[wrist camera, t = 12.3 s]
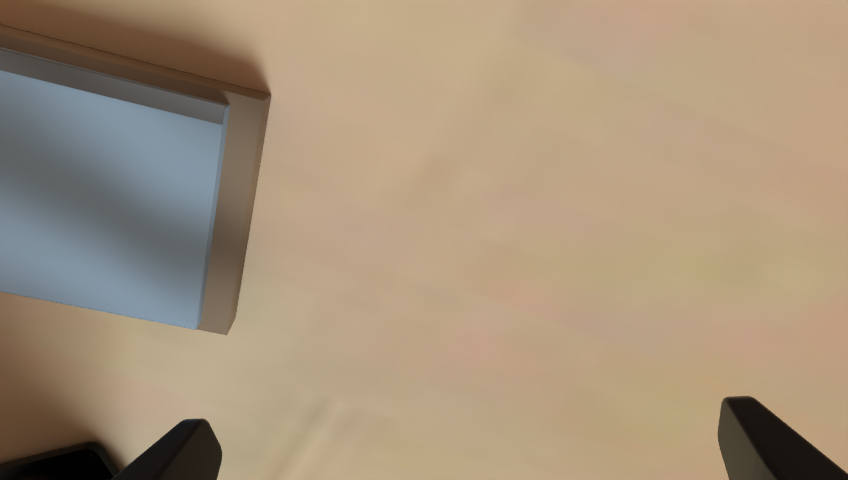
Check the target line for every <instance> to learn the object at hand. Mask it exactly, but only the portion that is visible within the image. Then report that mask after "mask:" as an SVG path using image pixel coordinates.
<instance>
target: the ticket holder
mask: <svg viewBox="0 0 848 480" xmlns="http://www.w3.org/2000/svg"><path fill="white" fill-rule="evenodd" d="M270 100H271V94H267V93H263V92H259V91H255V90H251V89H247V88H244V87H240V86H236V85H232V84H228V83H224V82H220V81H216V80H213V79H209V78H205V77H201V76H197V75H193V74H189V73H185V72H181V71H178V70H174V69H170V68H166V67H162V66H158V65H154V64H150V63H147V62H143V61H139V60H135V59H131V58H127V57H123V56H119V55H116V54H112V53H108V52H104V51H100V50H96V49H92V48H88V47H85V46H81V45H77V44H73V43H69V42H65V41H61V40H57V39H53V38H50V37H46V36H42V35H38V34H34V33H30V32H26V31H22V30H19V29H15V28H11V27H7V26H3V25H0V292H5V293H10V294H15V295H20V296H25V297H31V298H36V299H41V300H46V301H51V302H56V303H61V304H66V305H72V306H77V307H82V308H87V309H92V310H97V311H102V312H108V313H113V314H118V315H123V316H128V317H133V318H138V319H143V320H149V321H154V322H159V323H164V324H169V325H174V326H179V327H184V328H190V329H195V330H196V329H198V330H203V331H208V332H213V333H219V334H224V335H227V334H228V332H229V330H230V328H231V326H232V324H233V322H234V320H235V317H236V311H237V305H238V299H239V292H240V286H241V280H242V274H243V268H244V261H245V255H246V249H247V243H248V236H249V230H250V224H251V218H252V212H253V205H254V199H255V193H256V187H257V181H258V174H259V168H260V162H261V156H262V150H263V143H264V137H265V131H266V125H267V118H268V112H269V106H270Z"/></svg>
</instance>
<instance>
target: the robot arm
mask: <svg viewBox="0 0 848 480" xmlns="http://www.w3.org/2000/svg"><path fill="white" fill-rule="evenodd" d="M718 442H719V446H720V450H721V453H722V457H723V460H724V464H725V467H726V470H727V474H728V477H729V480H848V474H847V473H846V472H845V471H844V470H843V469H841V468H840V467H839V466H838V465H836V464H835V463H834V462H833V461H831V460H830V459H829V458H828V457H826V456H825V455H824V454H823V453H822V452H820V451H819V450H818V449H817V448H815V447H814V446H813V445H812V444H810V443H809V442H808V441H807V440H806V439H804V438H803V437H802V436H801V435H799V434H798V433H797V432H796V431H794V430H793V429H792V428H791V427H789V426H788V425H787V424H786V423H785V422H783V421H782V420H781V419H780V418H778V417H777V416H776V415H775V414H773V413H772V412H771V411H770V410H768V409H767V408H766V407H765V406H764V405H762V404H761V403H760V402H759V401H757V400H756V399H755V398H753V397H750V396H735V397H726V398H724V399H723V401H722V404H721V411H720V419H719V426H718ZM90 454H92V455H90ZM221 461H222V450H221V446H220V444H219V442H218V440H217V438H216V436H215V434H214V432H213V430H212V428H211V426H210V424H209V422H208V421H207V420H205V419H186V420H183V421H181V422H180V423H179V424H177V425H176V426H175V427H174V428H172V429H171V430H170V431H169V432H168V433H166V434H165V435H164V436H163V437H162V438H160V439H159V440H158V441H157V442H156V443H154V444H153V445H152V446H151V447H150V448H148V449H147V450H146V451H145V452H144V453H142V454H141V455H140V456H139V457H138V458H136V459H135V460H134V461H133V462H132V463H130V464H129V465H128V466H127V467H126V468H124V469H123V470H122V471H121V472H119V471H118V470H117V468H116V467H115V465H114V463H113V462H112V460H111V459H110V457H109V456H108V454H107V453H106V451H105V450H104V448H103V447H102V446H101V445H99V444H97V443H94V442H87V443H83V444H79V445H75V446H71V447H67V448H63V449H59V450H55V451H51V452H47V453H43V454H39V455H35V456H31V457H27V458H22V459H18V460H14V461H10V462H6V463H2V464H0V480H217V477H218V473H219V469H220V465H221Z"/></svg>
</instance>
